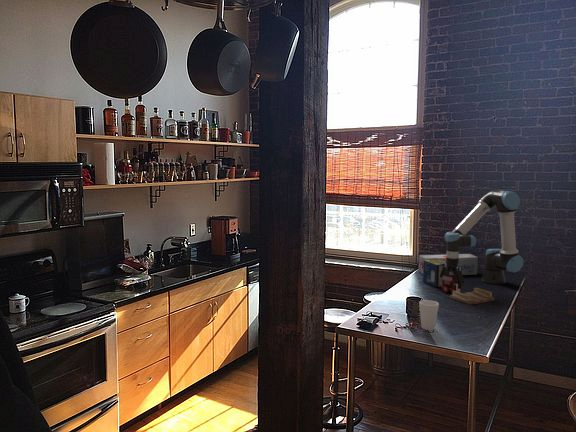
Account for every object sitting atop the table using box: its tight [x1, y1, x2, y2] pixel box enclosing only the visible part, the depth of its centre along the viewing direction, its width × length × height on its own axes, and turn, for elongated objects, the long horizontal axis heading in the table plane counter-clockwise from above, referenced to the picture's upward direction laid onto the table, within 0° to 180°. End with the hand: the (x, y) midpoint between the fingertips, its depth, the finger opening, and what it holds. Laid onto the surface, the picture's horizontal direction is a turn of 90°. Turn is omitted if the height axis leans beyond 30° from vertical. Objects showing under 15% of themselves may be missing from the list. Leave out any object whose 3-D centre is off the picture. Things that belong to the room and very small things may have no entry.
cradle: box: [449, 287, 495, 305], centre depth 295 cm, size 20×16×4 cm
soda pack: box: [418, 253, 479, 276], centre depth 360 cm, size 41×13×14 cm, turn 95°
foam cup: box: [418, 299, 440, 331], centre depth 243 cm, size 10×9×13 cm
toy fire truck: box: [441, 275, 463, 295], centre depth 309 cm, size 7×12×10 cm, turn 54°
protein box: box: [422, 259, 450, 288], centre depth 330 cm, size 10×15×16 cm
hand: (451, 291), depth 310 cm, fingers closed on toy fire truck, 11 cm apart
